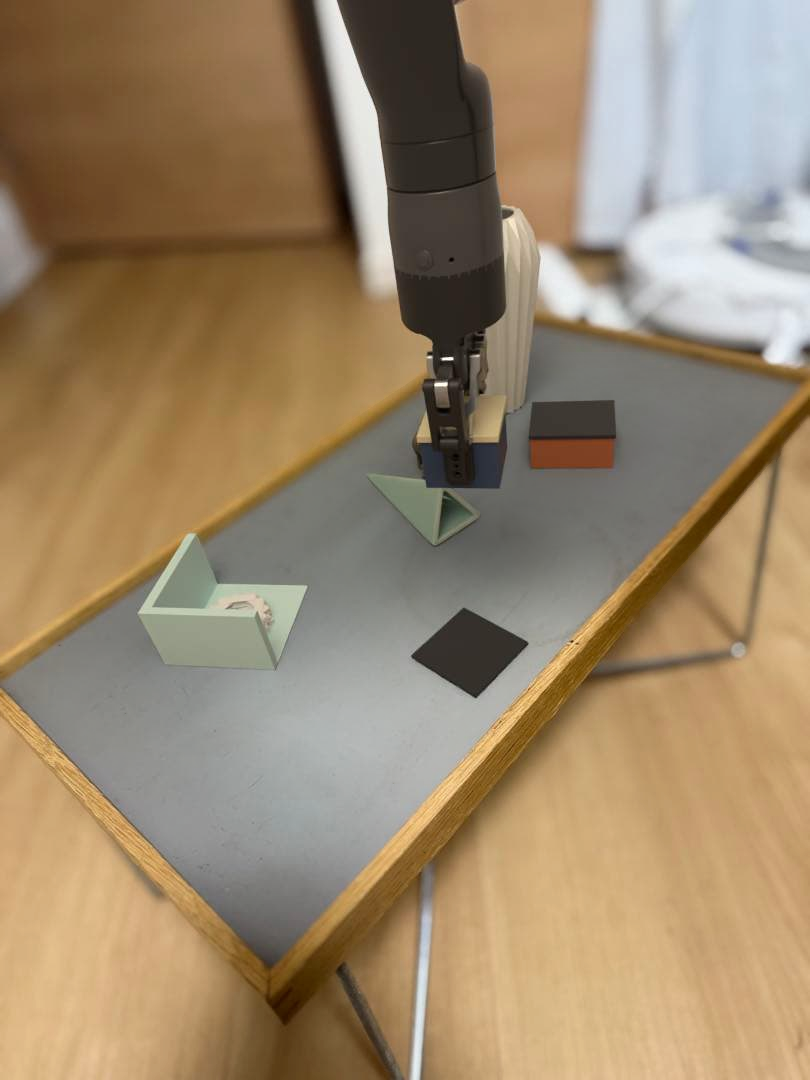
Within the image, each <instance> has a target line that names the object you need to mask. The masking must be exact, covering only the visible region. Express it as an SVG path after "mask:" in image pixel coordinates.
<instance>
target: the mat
mask: <svg viewBox="0 0 810 1080" xmlns="http://www.w3.org/2000/svg"><path fill="white" fill-rule="evenodd" d="M528 645H529V641H527V640H526V639H524V638H522V637H520V636H518V635H516V634H514V633H512V632H510V631H509V630H508V629H505V628H504V627H502V626H499V625H498V624H496V623H494V622H493V621H490V620H488V619H486V618H484V617H483V616H481V615H479V614H477V613H476V612H473V611H471V610H470V609H468V608H466V607H465V606H464V607H462V608H461V609H460V610H459V611H458V612H457V613H455V614H454V615H453V616H452V617H451V618H450V619H449V620H448V621H447V622H446V623H444V624H443V626H442V627H440V628H439V629H438V630H437V631H436V632H435V633H434V634H433V635H432V636H430V638H428V639H427V640H426V641H425V642H424V643H423V644H422V645H421V646H419V648H418V649H416V650H415V651H414V652H413V653H412V654H411V655H410V657H411V659H412V660H414V661H416V662H417V663H419V664H420V665H422V666H424V667H425V668H427V669H429V671H432V672H433V673H435V674H437V675H438V676H439V677H441V678H442V679H444V680H446V681H447V682H449V683H450V684H452V685H454V686H456V687H457V688H459V689H460V690H462V691H463V692H465V693H467V694H469V696H471V697H473V698H475V699H477V698H478V697H479V696H480V695H481V694H482V693H483V692H484V691H485V690H486V689H487V688H488V687H489V686H490V685H491V684H492V683H493V682H494V681H495V679H496V678H497V677H498V676H499V675H500V674H502V672H503V671H504V670H505V669H506V668H507V667H508V666H509V665H510V664H511V662H513V661H514V660H515V659H516V658H517V657H518V656H519V655H520V654H521V652H523V650H525V648H526V647H527V646H528Z"/></svg>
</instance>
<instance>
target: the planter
mask: <svg viewBox="0 0 810 1080" xmlns="http://www.w3.org/2000/svg"><path fill="white" fill-rule="evenodd" d="M366 477H367V478H368V479H369V481H370V482H372V484H373V485H374V486H375V488H377V489H378V490H379V491H380V492H381V494H383V496H385V497H386V499H387V500H388V501H389V502H390V504H392V505H393V506H394V508H395V509H396V510H398V512H399V513H400V514H401V515H402V516H403V517H404V518H405V519H406V520H407V521H408V522H409V523H410V525H412V526H413V527H414V529H415V530H416V531H418V533H419V534H420V535H421V536H422V537H423V538H425V540H426V541H427V542H428V543H430V545H432V546H434V547H437V546H439V545H440V544H442V543H443V542H445V541H446V540H447V539H449V538H451V537H452V536H454V535H456V534H457V533H459V532H460V531H462V530H463V529H464V528H466V527H467V526H469V525H470V524H472V523H473V522H475V521H476V520H477V519H479V518H480V516H481V514H480V512H479V511H477V509H475V508H474V507H473V506H472V505H471V504H469V502H467V501H466V500H465V499H463V498H462V497H461V496H460V495H459V494H458V493H457V492H455V491H454V490H453V488H426V483H425V479H421V478H413V477H405V476H395V475H385V474H378V473H377V474H376V473H366Z"/></svg>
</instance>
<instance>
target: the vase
mask: <svg viewBox="0 0 810 1080" xmlns="http://www.w3.org/2000/svg"><path fill="white" fill-rule="evenodd" d="M501 206H502V219H503V243H504V264H505V286H506V310H505V313H504V315H503V316H502V317H501V319H500V320H499V321H497V322H496V323H495V324H493V325H492V326H490V327H488V328H486V329H485V330H486V338H487V362H488V367H489V372H488V373H487V378H486V379H485V383H486V390H485V394H480V396H482V395H483V396H485V395H507V403H506V408H505V412H506V415H507V414H514V411H519V410H520V408H521V407H523V406H524V403H525V400H526V393H527V392H526V391H527V382H528V375H529V365H530V357H531V356H530V355H531V348H532V340H533V339H532V338H533V330H534V321H535V311H536V302H537V297H538V296H537V294H538V285H539V277H540V267H541V266H540V265H541V260H542V259H541V258H542V257H541V254H540V250H539V247H538V242H537V240H536V236H535V231H534V229H533V228H532V227H533V226H531V224H530V222H529V221H528V219H527V218H526V216H525V214H524V212H523V211H522V210H521V208H519V207H515V205H509V206H508V205H507V204H501Z"/></svg>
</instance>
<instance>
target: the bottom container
mask: <svg viewBox="0 0 810 1080" xmlns="http://www.w3.org/2000/svg"><path fill="white" fill-rule="evenodd" d="M615 406H616V404H615V400H614V399H601V400H600V399H599V400H596V399H595V400H566V401H565V400H560V401H559V400H558V401H555V400H554V401H532V403H531V410H530V418H529V425H528V426H529V427H528V437H527V438H528V440H529V444H530V447H529V448H530V469H613V468H614V467H613V466H614V465H613V464H614V452H615V451H614V449H615V439H617V423H616V422H617V421H616V407H615Z"/></svg>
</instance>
